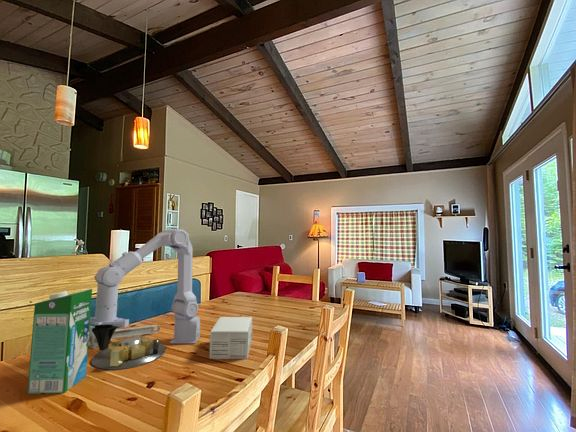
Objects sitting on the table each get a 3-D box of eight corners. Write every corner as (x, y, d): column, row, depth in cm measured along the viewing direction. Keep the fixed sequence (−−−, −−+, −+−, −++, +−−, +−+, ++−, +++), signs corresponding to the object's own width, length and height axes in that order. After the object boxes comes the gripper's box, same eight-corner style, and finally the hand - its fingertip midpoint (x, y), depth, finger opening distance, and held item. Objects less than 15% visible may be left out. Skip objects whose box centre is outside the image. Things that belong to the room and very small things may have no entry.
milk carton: (53, 376, 80) (60, 288, 82) (86, 375, 81) (92, 288, 83) (26, 394, 71) (35, 294, 73) (64, 393, 72) (71, 294, 74)
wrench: (158, 339, 118) (74, 352, 95) (156, 338, 119) (72, 351, 96) (161, 319, 120) (79, 328, 96) (159, 318, 121) (77, 326, 98)
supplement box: (218, 340, 110) (219, 316, 111) (252, 340, 111) (252, 316, 111) (208, 359, 93) (209, 330, 94) (247, 359, 94) (248, 330, 95)
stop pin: (158, 354, 96) (159, 339, 97) (156, 355, 95) (157, 340, 95) (153, 354, 96) (154, 339, 97) (151, 356, 95) (152, 340, 95)
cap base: (173, 342, 107) (174, 328, 108) (150, 369, 85) (151, 352, 86) (114, 342, 106) (115, 329, 106) (74, 370, 84) (75, 353, 84)
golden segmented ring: (157, 344, 102) (157, 333, 103) (135, 365, 86) (136, 351, 86) (120, 345, 101) (121, 333, 102) (92, 366, 85) (93, 352, 85)
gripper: (74, 307, 85) (71, 353, 84) (119, 309, 84) (116, 355, 83) (93, 301, 92) (90, 344, 91) (134, 303, 91) (131, 346, 90)
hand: (103, 349), depth 87 cm, fingers closed
